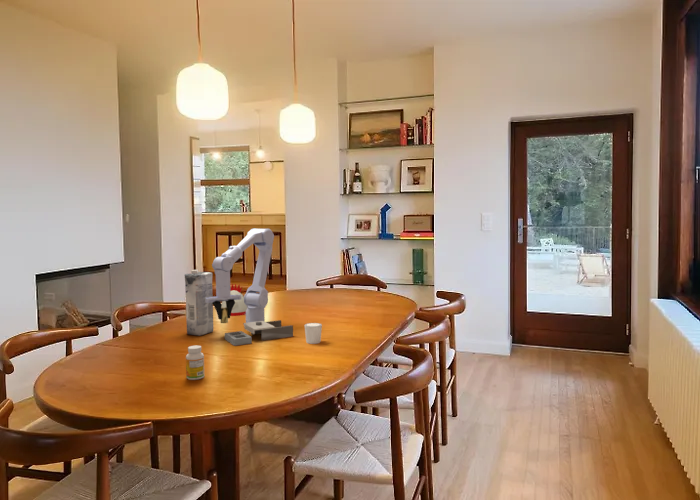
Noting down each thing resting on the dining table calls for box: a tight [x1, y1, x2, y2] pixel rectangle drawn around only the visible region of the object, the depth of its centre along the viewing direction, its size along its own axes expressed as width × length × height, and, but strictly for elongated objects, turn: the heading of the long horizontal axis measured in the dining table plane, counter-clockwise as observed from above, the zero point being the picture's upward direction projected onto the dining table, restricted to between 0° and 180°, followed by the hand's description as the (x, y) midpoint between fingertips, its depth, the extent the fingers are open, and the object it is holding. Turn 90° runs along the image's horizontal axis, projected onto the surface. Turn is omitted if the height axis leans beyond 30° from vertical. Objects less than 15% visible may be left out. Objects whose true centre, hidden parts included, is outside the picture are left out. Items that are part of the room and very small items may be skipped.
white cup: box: [303, 322, 323, 345], centre depth 205 cm, size 7×7×7 cm
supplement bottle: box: [185, 344, 205, 381], centre depth 162 cm, size 5×5×10 cm
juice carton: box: [184, 269, 214, 336], centre depth 220 cm, size 9×10×27 cm
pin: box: [220, 307, 229, 324], centre depth 214 cm, size 3×3×6 cm
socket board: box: [224, 330, 253, 347], centre depth 207 cm, size 12×7×2 cm, turn 31°
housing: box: [250, 319, 294, 342], centre depth 216 cm, size 13×14×4 cm
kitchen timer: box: [221, 283, 247, 317], centre depth 262 cm, size 14×14×15 cm
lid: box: [242, 321, 275, 335], centre depth 213 cm, size 13×9×3 cm
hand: (224, 318), depth 215 cm, fingers closed on pin, 3 cm apart
